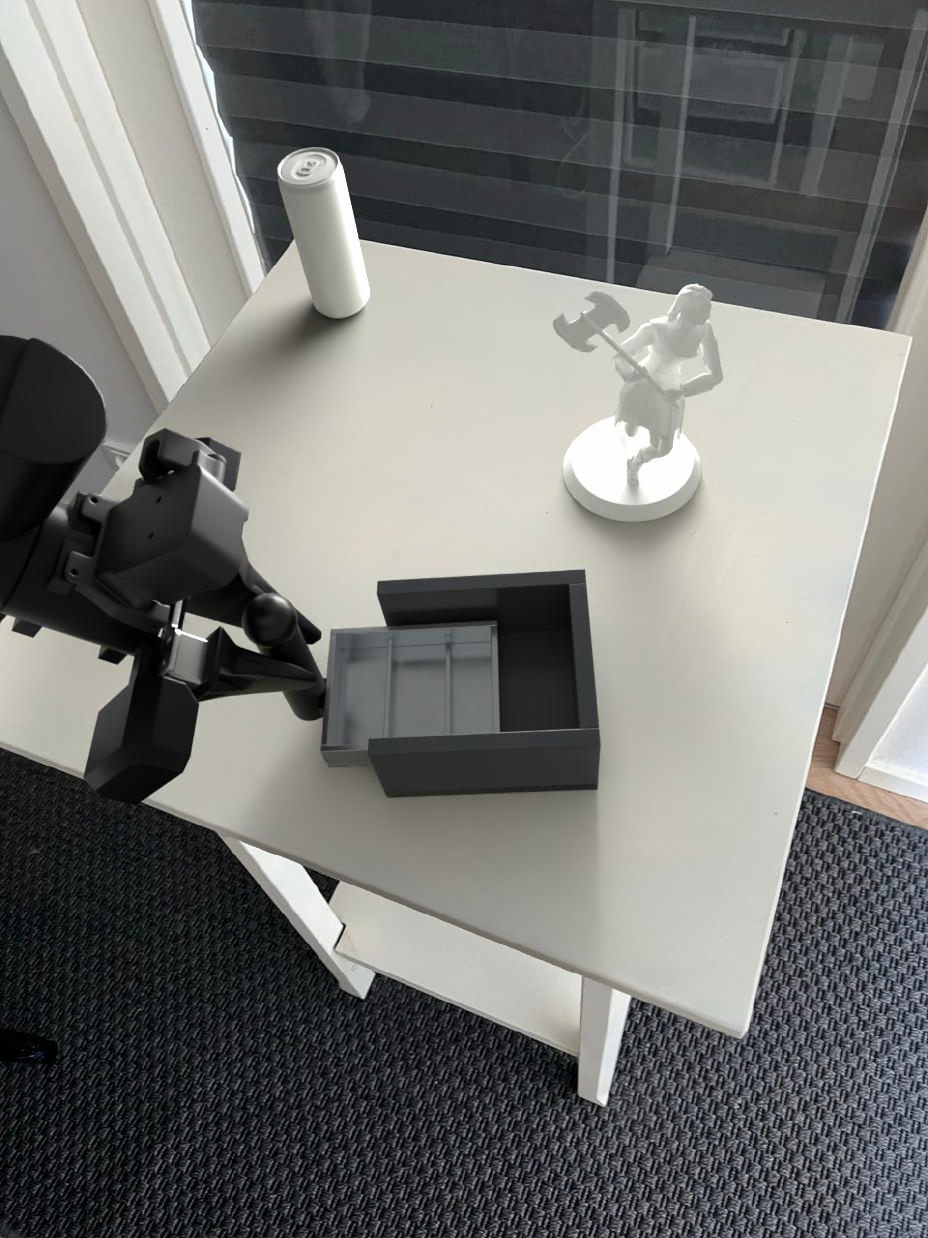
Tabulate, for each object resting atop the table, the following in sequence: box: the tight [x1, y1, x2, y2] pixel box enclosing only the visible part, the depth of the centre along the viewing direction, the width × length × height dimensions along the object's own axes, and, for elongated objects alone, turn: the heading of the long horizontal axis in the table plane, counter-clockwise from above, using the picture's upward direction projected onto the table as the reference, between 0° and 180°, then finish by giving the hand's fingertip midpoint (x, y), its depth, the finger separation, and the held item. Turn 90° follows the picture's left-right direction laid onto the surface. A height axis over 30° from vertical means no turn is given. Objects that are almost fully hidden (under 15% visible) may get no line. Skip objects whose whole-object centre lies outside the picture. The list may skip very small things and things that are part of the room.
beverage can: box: [276, 146, 371, 319], centre depth 72 cm, size 5×5×12 cm
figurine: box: [552, 282, 724, 523], centre depth 57 cm, size 10×10×18 cm
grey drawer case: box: [368, 568, 602, 799], centre depth 53 cm, size 12×11×6 cm
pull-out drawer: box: [242, 593, 502, 768], centre depth 50 cm, size 13×8×11 cm, turn 90°
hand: (315, 660), depth 51 cm, fingers closed on pull-out drawer, 2 cm apart
